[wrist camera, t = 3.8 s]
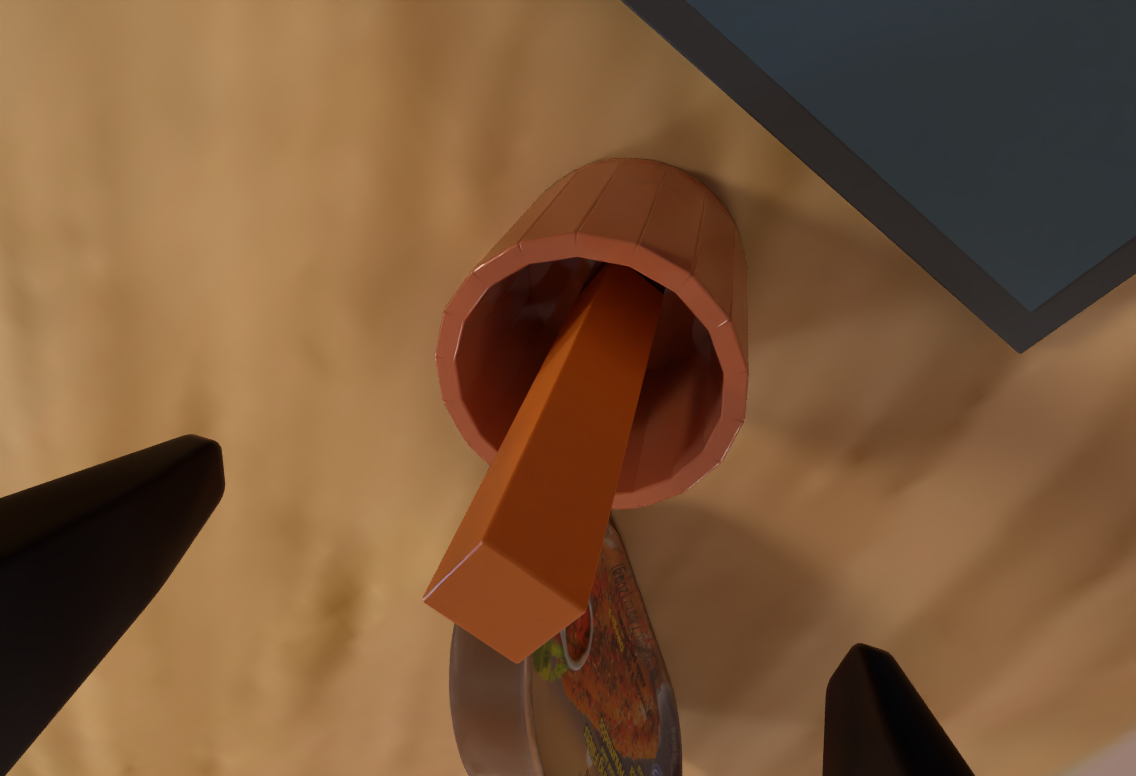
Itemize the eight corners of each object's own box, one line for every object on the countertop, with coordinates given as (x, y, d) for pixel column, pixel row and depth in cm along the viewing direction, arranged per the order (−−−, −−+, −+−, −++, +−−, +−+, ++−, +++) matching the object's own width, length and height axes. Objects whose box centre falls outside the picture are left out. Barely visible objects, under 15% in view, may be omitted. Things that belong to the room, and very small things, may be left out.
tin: (693, 747, 28) (676, 1006, 21) (619, 745, 29) (580, 991, 22) (594, 451, 22) (521, 683, 14) (503, 462, 23) (394, 684, 16)
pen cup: (799, 263, 17) (822, 382, 12) (642, 412, 20) (609, 554, 15) (610, 101, 16) (550, 159, 11) (477, 285, 19) (384, 393, 14)
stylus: (668, 279, 18) (587, 613, 8) (629, 321, 18) (516, 666, 9) (620, 239, 17) (482, 540, 8) (583, 284, 18) (419, 601, 9)
